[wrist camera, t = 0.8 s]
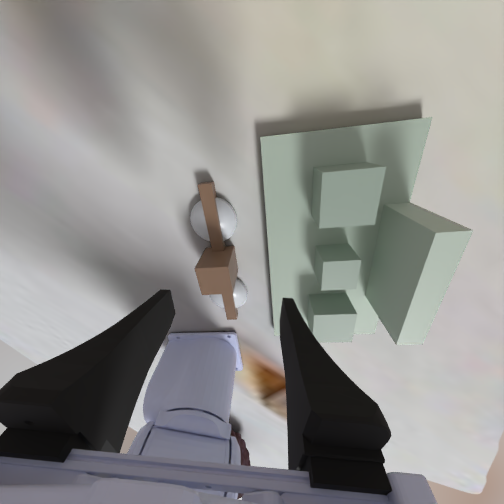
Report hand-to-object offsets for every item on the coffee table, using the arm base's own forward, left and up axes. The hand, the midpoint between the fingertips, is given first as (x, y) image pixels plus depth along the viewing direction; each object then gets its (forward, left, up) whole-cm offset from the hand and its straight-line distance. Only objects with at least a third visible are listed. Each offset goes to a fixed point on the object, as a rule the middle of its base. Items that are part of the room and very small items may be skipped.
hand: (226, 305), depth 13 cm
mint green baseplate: (+9, -2, -9) cm, 13 cm away
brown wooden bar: (-2, -2, -9) cm, 9 cm away
